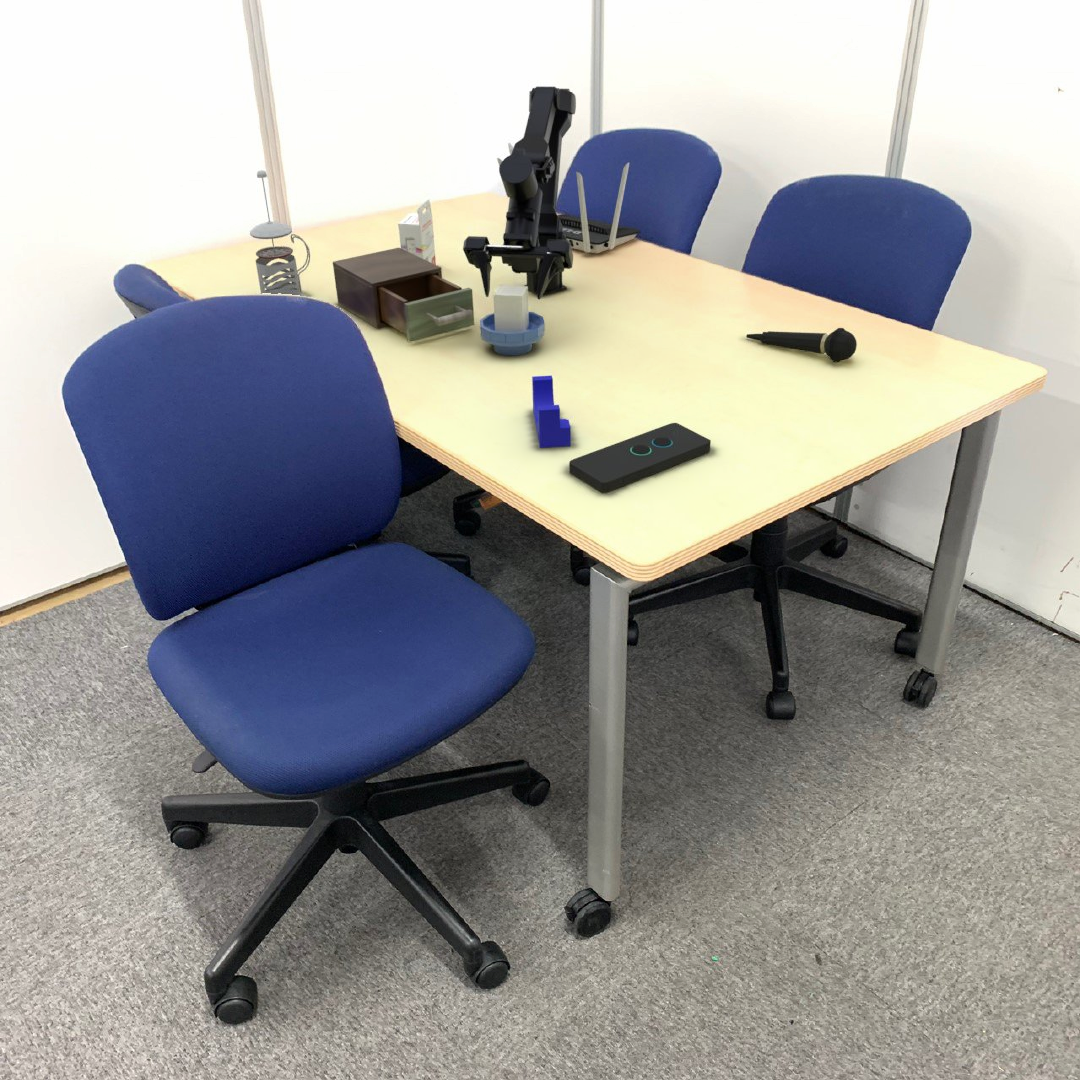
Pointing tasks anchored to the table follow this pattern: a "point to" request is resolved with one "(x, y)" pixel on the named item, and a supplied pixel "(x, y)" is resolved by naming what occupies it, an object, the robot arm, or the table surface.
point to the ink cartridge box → (418, 233)
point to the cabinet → (375, 279)
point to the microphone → (813, 342)
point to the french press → (277, 257)
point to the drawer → (425, 306)
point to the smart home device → (639, 457)
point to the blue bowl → (512, 335)
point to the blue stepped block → (548, 415)
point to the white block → (511, 308)
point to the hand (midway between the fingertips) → (512, 297)
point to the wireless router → (594, 223)
